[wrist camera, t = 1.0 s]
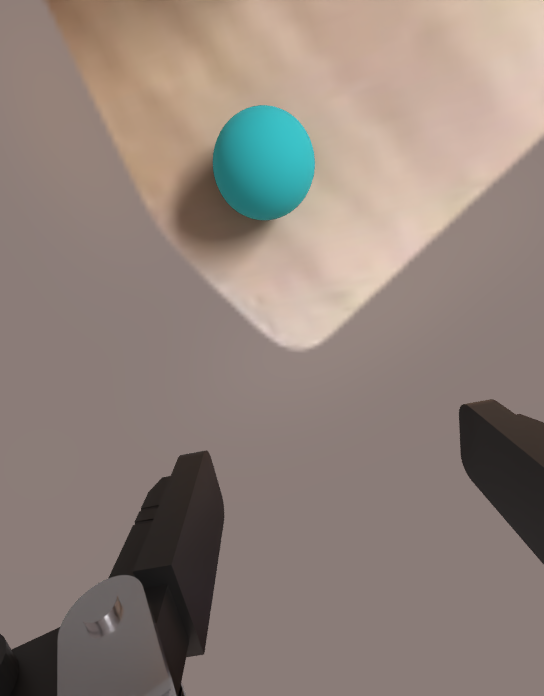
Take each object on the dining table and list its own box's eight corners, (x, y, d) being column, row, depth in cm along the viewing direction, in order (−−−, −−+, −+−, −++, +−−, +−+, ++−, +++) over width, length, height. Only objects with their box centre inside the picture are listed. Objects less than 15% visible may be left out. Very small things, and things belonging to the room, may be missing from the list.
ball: (208, 204, 24) (191, 194, 18) (234, 110, 23) (224, 66, 17) (290, 234, 25) (298, 233, 19) (321, 144, 23) (339, 113, 18)
